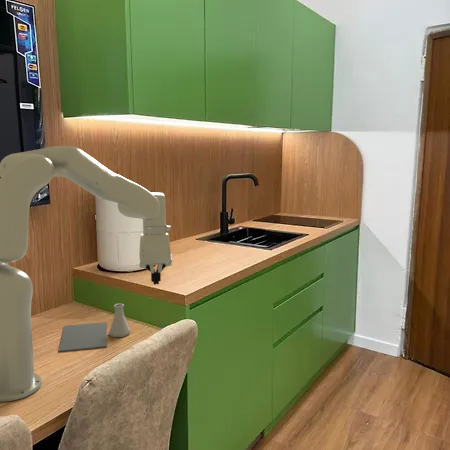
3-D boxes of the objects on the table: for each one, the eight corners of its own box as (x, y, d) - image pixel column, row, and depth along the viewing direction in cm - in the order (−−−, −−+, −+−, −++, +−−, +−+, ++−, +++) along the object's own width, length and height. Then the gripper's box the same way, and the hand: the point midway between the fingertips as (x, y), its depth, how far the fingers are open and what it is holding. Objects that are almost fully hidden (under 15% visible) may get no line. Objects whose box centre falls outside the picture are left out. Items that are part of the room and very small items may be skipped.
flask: (124, 339, 139) (124, 309, 138) (104, 336, 141) (103, 307, 139) (134, 330, 146) (133, 302, 145) (114, 328, 148) (113, 300, 146)
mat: (58, 352, 129) (58, 350, 129) (64, 327, 148) (64, 325, 148) (106, 347, 133) (106, 345, 133) (106, 323, 152) (106, 322, 152)
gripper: (175, 227, 147) (176, 278, 150) (130, 229, 143) (132, 281, 146) (178, 231, 140) (179, 284, 143) (132, 233, 136) (134, 288, 139)
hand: (156, 283), depth 145 cm, fingers closed
